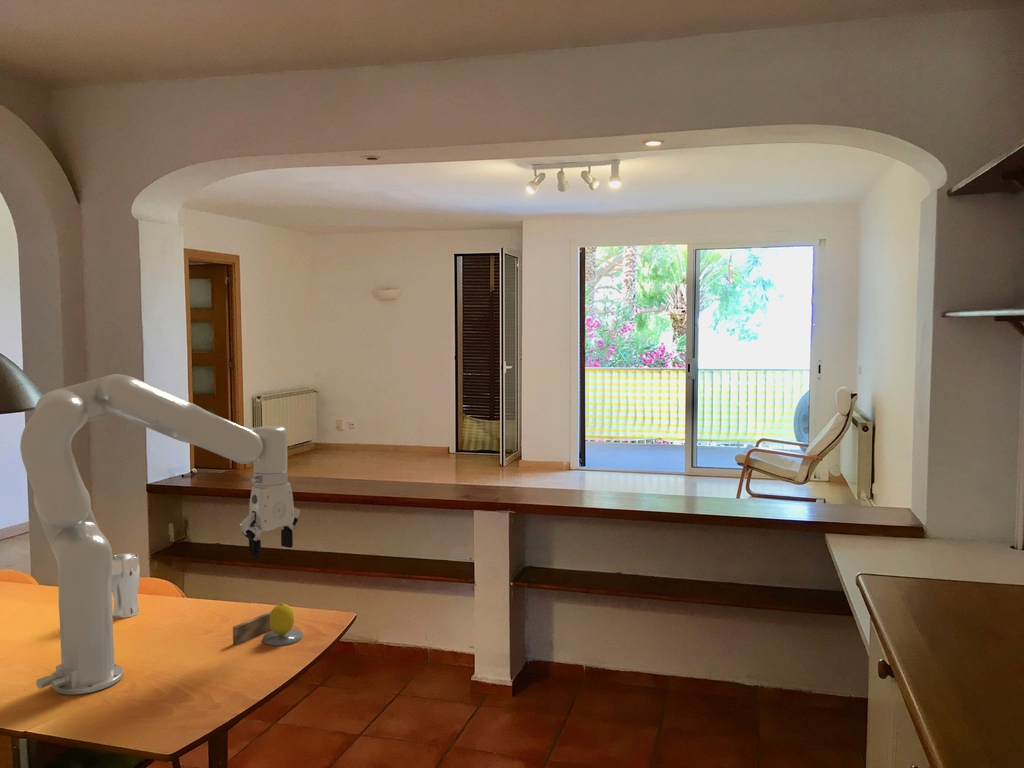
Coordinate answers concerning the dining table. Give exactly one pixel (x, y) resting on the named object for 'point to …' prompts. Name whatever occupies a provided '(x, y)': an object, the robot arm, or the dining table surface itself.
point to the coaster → (282, 638)
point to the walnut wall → (251, 628)
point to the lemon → (281, 619)
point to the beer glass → (125, 584)
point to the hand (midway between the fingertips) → (271, 551)
